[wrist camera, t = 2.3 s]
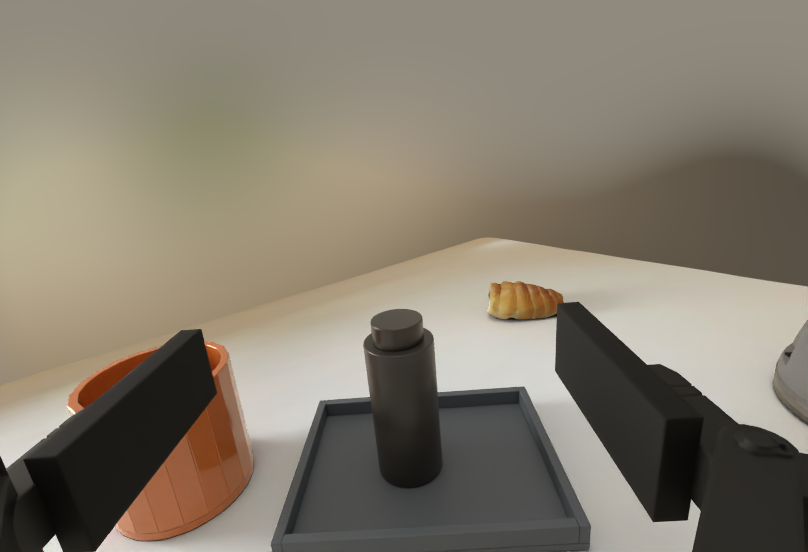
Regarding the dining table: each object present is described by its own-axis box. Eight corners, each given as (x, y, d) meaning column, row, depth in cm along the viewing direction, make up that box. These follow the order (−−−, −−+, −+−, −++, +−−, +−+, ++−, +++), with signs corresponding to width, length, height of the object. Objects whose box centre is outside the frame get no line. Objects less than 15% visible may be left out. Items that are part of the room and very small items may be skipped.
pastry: (558, 300, 55) (559, 273, 54) (568, 322, 49) (570, 292, 48) (486, 302, 57) (485, 276, 56) (487, 323, 51) (487, 294, 49)
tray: (524, 403, 35) (524, 386, 34) (589, 550, 22) (591, 525, 22) (322, 417, 36) (319, 400, 35) (275, 567, 23) (270, 544, 22)
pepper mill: (440, 440, 31) (430, 302, 28) (445, 486, 27) (434, 331, 23) (381, 443, 31) (364, 308, 28) (377, 490, 27) (356, 337, 23)
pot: (270, 436, 34) (248, 336, 31) (222, 537, 25) (186, 410, 22) (162, 444, 34) (130, 345, 31) (79, 545, 25) (26, 422, 23)
